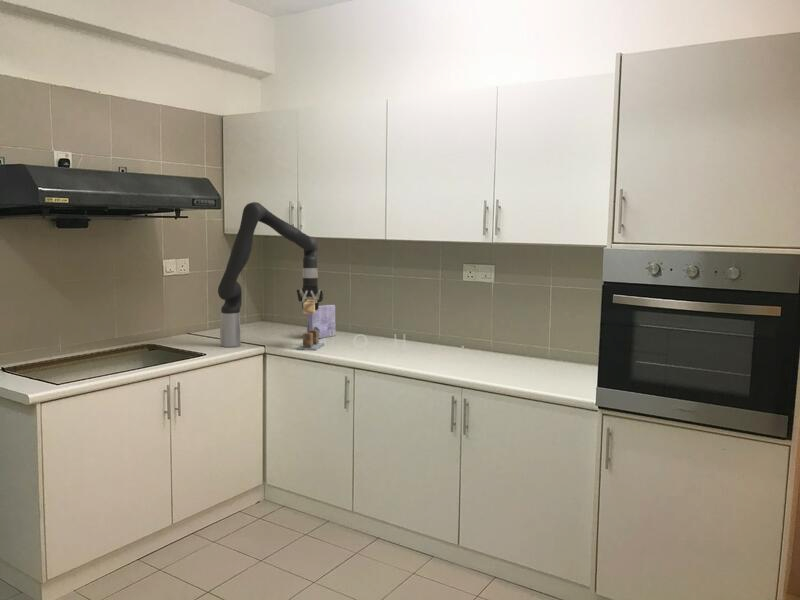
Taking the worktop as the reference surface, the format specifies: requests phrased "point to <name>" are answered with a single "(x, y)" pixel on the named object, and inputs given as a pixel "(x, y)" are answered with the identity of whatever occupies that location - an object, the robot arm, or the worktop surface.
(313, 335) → the posts
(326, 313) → the cake pan box
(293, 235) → the robot arm
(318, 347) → the blueprint plate
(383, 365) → the worktop surface
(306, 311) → the oak crossbeam
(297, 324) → the worktop surface
